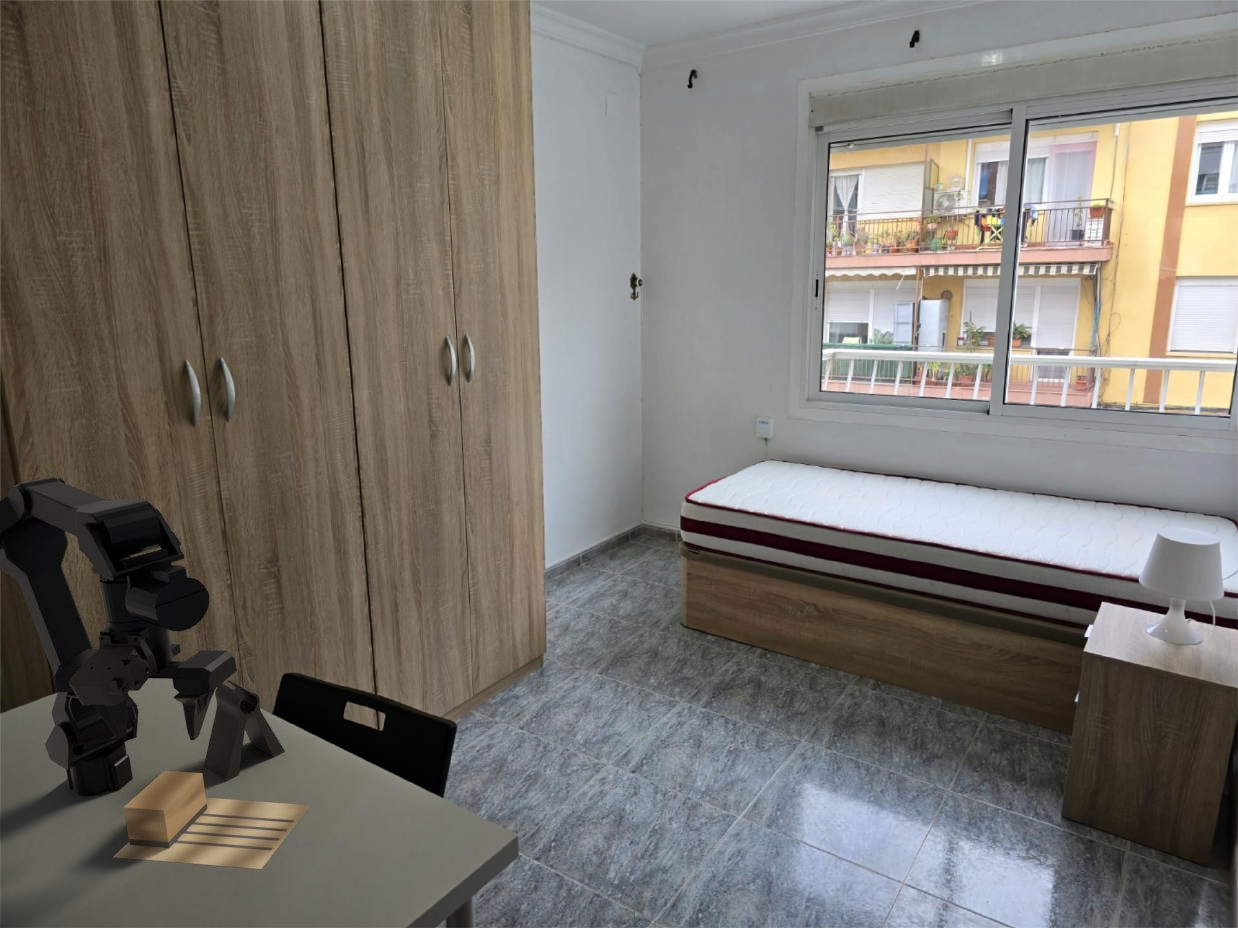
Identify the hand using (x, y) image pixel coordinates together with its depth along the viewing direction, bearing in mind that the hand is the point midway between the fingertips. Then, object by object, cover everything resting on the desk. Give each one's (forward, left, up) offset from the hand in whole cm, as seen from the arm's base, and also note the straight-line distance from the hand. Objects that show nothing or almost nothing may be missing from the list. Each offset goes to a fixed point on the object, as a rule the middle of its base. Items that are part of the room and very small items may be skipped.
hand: (158, 737), depth 91 cm
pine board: (+6, 0, -13) cm, 14 cm away
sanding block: (0, 0, -12) cm, 12 cm away
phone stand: (+1, +14, -13) cm, 19 cm away
